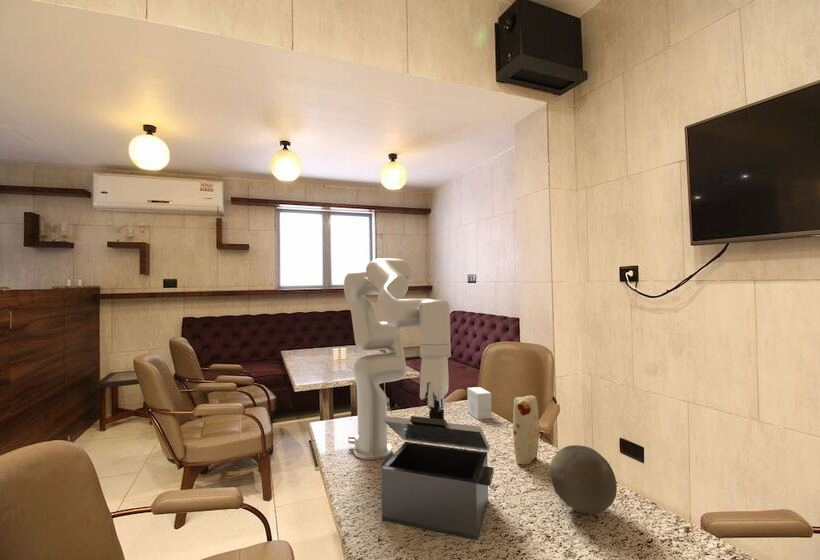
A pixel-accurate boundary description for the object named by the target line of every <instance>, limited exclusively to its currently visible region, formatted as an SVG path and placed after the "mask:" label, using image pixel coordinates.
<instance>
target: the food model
mask: <svg viewBox="0 0 820 560" xmlns="http://www.w3.org/2000/svg"><path fill="white" fill-rule="evenodd" d="M512 413H513V417H512V435H513V436H512V438H513V449H514V456H515V458H514V459H515V461H516V463H517V464H518V465H529V464H532V463H534V462H536V461H537V458H538V449H539V439H540V438H539V437H540V423H539V422H540V421H539V419H540V418H539V407H538V400H537V397H536V396H535V395H531V394H530V395H525V396H515V397H514V398H513V411H512Z"/></svg>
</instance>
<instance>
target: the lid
mask: <svg viewBox="0 0 820 560" xmlns="http://www.w3.org/2000/svg"><path fill="white" fill-rule="evenodd" d="M384 422H385V423H386V424H387V427H389V428H390V429H392V430H393V432H394V433H396V434H397V435H398V436H399V437H400V438H401V439H402V440H403V441H406V442H413V443H421V444H429V445H437V446H444V447H452V448H460V449H468V450H475V451H483V452H490V448H491V447H490V444H489V442H488V440H487V437H486V435H485V434H484V431H483V429H482V426H479V425H472V424H471V425H470V424H460V423H454V422H453V423H452V422H447V421H446V419H445V418H444V419H435V418H429V417H424V416H414V415H411V416H410V418H405V417H396V416H388V415H387V416H385V417H384Z"/></svg>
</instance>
